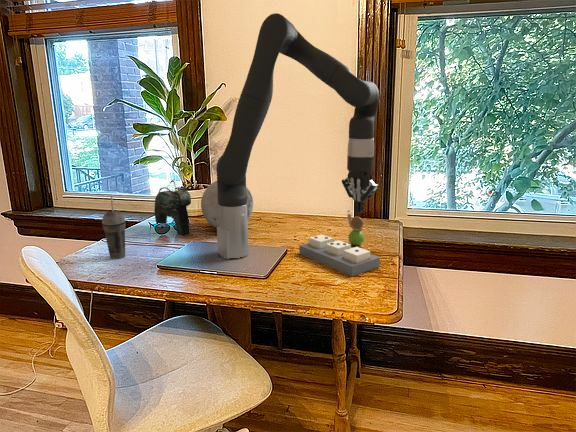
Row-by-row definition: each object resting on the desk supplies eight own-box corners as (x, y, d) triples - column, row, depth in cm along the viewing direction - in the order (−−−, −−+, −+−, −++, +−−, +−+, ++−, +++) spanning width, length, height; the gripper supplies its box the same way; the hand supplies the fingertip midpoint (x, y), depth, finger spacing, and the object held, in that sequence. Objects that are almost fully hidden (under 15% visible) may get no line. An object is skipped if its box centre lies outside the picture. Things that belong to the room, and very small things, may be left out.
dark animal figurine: (194, 233, 167) (191, 182, 162) (180, 238, 163) (176, 184, 157) (165, 224, 180) (161, 175, 175) (151, 227, 175) (146, 178, 170)
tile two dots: (320, 249, 142) (320, 241, 141) (309, 244, 146) (309, 237, 145) (333, 245, 145) (333, 237, 144) (321, 241, 149) (321, 233, 148)
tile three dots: (337, 256, 136) (338, 247, 135) (325, 251, 140) (325, 243, 139) (350, 252, 139) (351, 244, 138) (338, 247, 143) (338, 239, 142)
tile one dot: (357, 263, 129) (357, 254, 129) (343, 258, 134) (343, 249, 133) (369, 259, 133) (370, 250, 132) (356, 254, 137) (356, 246, 136)
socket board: (352, 276, 127) (352, 266, 127) (299, 253, 146) (299, 245, 145) (379, 266, 134) (380, 257, 134) (326, 246, 153) (326, 238, 152)
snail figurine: (350, 240, 158) (352, 208, 155) (366, 244, 154) (368, 211, 151) (342, 244, 154) (343, 211, 151) (358, 248, 150) (360, 214, 147)
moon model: (192, 234, 167) (189, 182, 161) (217, 220, 185) (214, 173, 180) (241, 239, 161) (239, 185, 155) (261, 224, 179) (260, 175, 174)
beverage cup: (104, 261, 139) (96, 200, 134) (107, 254, 146) (100, 195, 141) (128, 259, 141) (122, 198, 136) (130, 252, 148) (124, 193, 143)
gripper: (334, 153, 128) (333, 210, 132) (369, 157, 118) (367, 220, 122) (352, 150, 132) (351, 206, 137) (387, 155, 122) (384, 215, 127)
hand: (358, 213), depth 130 cm, fingers closed
